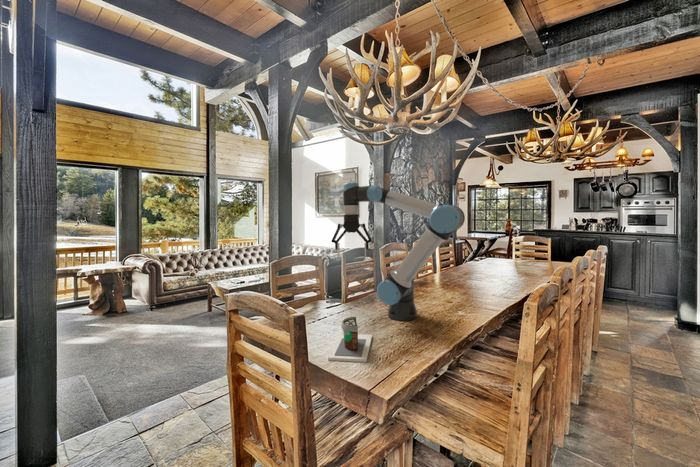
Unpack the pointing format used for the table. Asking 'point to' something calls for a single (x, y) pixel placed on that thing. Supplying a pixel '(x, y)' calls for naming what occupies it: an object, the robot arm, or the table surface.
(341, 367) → the table surface
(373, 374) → the table surface
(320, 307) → the table surface
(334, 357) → the board
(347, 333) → the food container
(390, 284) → the robot arm
